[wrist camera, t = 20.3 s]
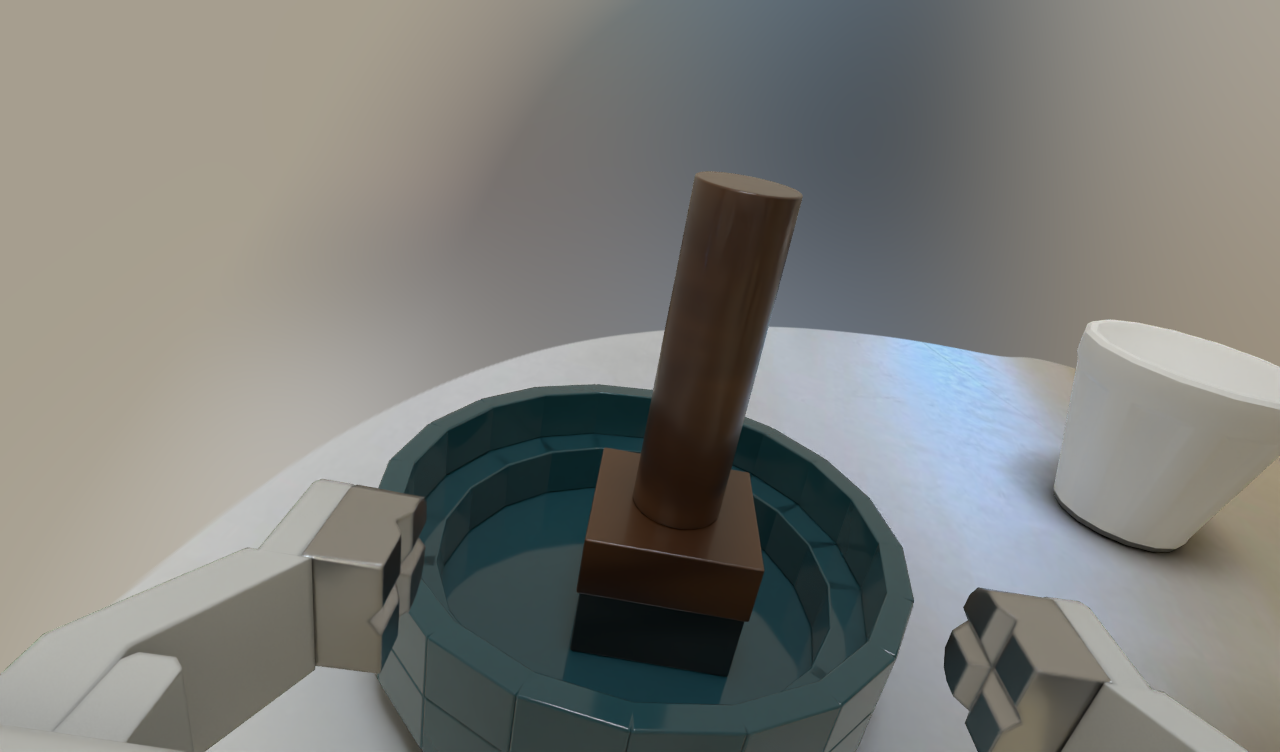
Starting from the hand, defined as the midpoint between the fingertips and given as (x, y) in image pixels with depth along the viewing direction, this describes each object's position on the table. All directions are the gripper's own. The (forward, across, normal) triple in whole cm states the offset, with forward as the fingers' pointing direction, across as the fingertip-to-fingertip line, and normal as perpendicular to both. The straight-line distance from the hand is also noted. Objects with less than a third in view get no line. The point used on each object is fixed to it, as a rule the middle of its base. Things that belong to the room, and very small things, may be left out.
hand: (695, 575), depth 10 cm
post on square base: (+10, -1, +10) cm, 15 cm away
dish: (+11, 0, +11) cm, 15 cm away
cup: (+23, -26, +11) cm, 37 cm away
